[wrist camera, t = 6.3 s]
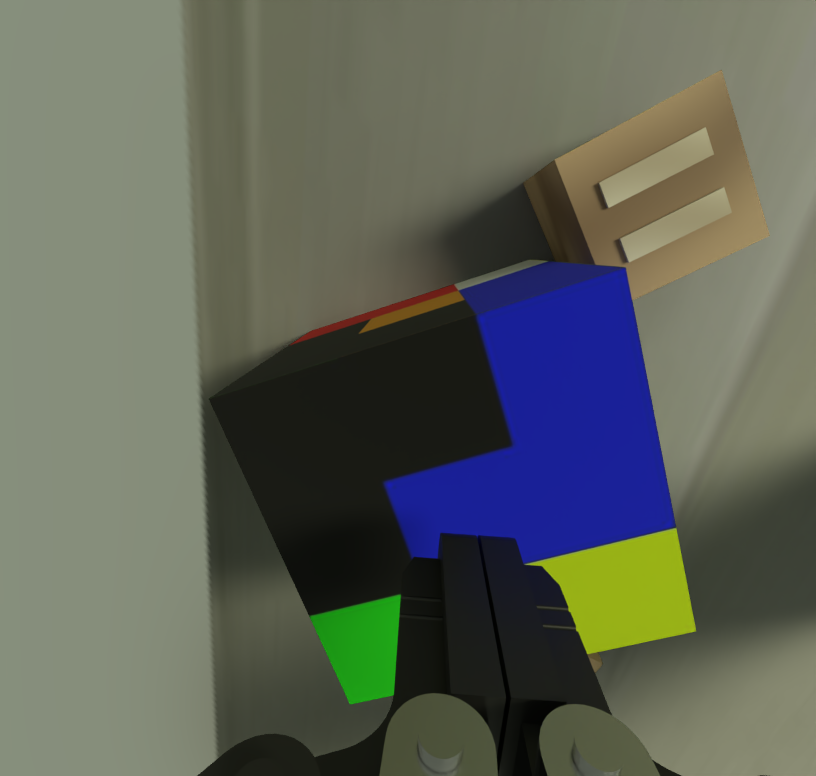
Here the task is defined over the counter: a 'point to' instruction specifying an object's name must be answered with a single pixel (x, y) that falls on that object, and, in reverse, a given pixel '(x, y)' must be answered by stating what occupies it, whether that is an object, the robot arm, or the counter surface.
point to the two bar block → (654, 192)
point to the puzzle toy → (466, 457)
